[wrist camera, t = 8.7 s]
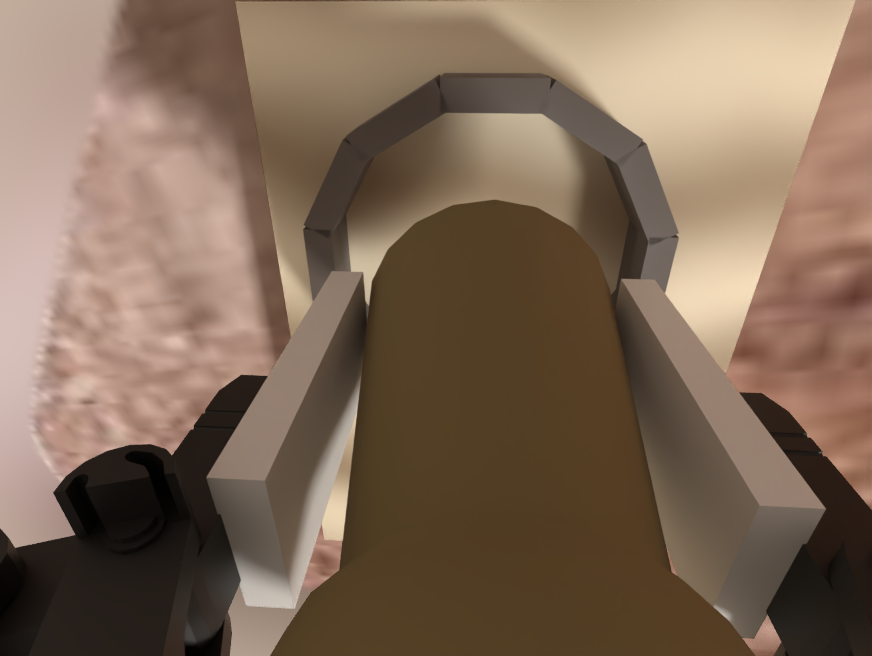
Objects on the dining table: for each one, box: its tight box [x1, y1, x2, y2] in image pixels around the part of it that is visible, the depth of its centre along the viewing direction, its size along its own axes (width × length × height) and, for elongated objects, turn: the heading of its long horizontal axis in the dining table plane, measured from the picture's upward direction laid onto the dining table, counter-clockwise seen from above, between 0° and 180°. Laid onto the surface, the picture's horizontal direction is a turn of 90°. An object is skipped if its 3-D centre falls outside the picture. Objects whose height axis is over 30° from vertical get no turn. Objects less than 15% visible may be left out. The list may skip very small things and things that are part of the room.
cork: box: [270, 200, 755, 656], centre depth 8 cm, size 6×6×11 cm
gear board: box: [235, 0, 855, 544], centre depth 18 cm, size 22×16×6 cm
